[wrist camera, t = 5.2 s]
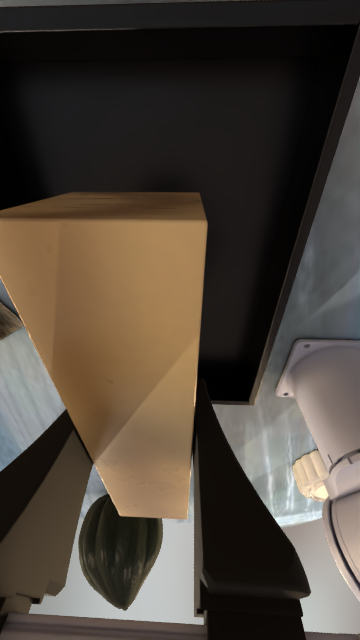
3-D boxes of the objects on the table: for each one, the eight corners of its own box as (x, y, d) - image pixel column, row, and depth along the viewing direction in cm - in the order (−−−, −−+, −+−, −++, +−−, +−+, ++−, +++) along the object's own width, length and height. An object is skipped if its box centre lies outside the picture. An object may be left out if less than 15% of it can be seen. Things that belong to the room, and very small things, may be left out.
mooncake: (364, 478, 37) (379, 505, 34) (288, 480, 39) (296, 506, 36) (389, 442, 30) (410, 472, 27) (295, 447, 32) (306, 476, 29)
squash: (57, 517, 38) (63, 633, 34) (138, 508, 35) (155, 632, 31) (103, 478, 51) (112, 557, 47) (165, 469, 49) (179, 552, 45)
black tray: (333, 40, 10) (386, -5, 7) (246, 377, 24) (254, 405, 21) (-31, 47, 11) (-107, 8, 8) (87, 372, 24) (73, 400, 21)
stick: (199, 192, 8) (208, 220, 4) (188, 448, 18) (187, 519, 14) (71, 191, 8) (-32, 217, 4) (133, 446, 18) (119, 516, 15)
